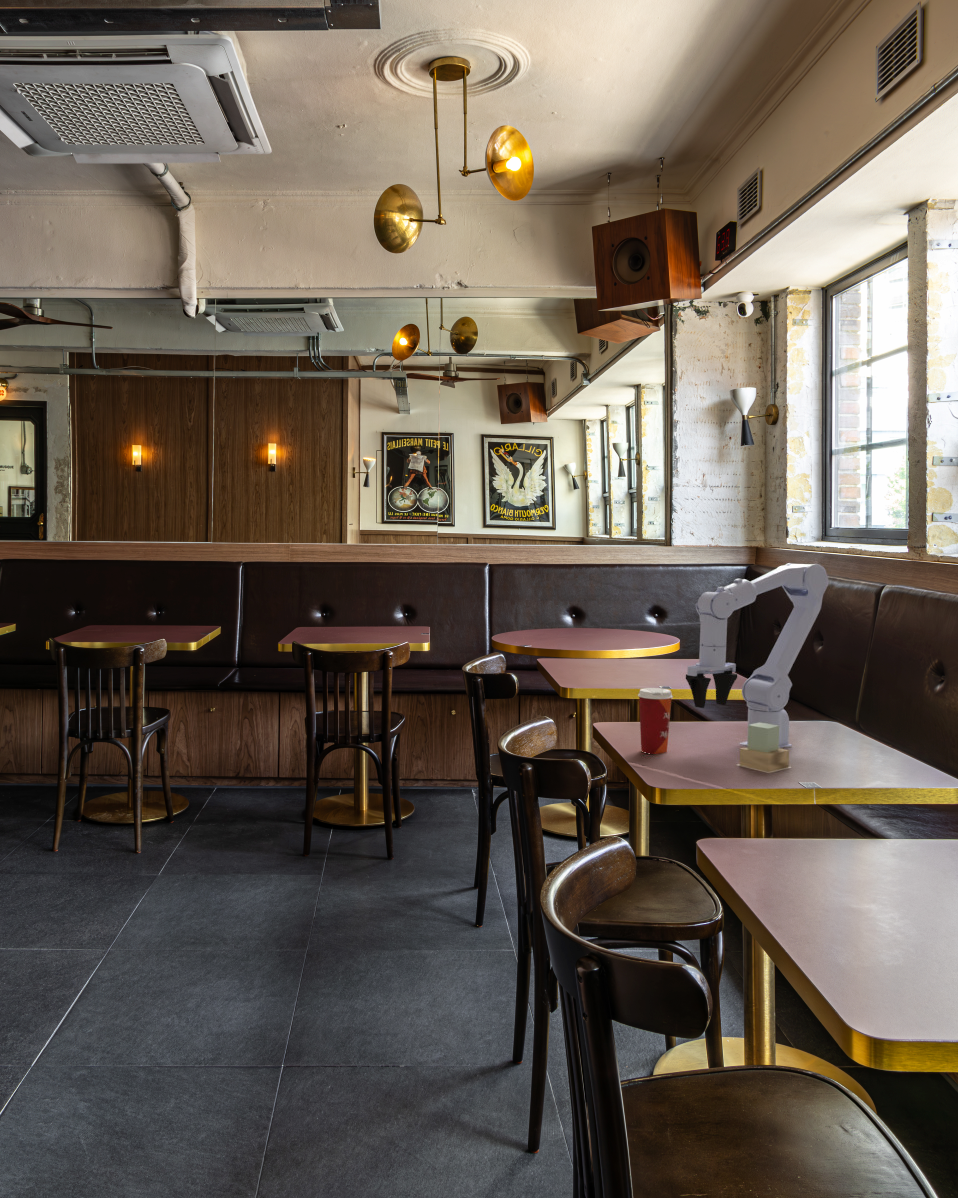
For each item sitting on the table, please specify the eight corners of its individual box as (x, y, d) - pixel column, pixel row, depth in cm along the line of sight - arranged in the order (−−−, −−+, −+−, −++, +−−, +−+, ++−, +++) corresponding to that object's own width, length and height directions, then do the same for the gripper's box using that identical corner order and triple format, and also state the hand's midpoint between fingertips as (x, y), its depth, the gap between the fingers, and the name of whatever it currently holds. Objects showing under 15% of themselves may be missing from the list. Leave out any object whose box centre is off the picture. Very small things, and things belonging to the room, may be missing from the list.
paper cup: (674, 756, 191) (676, 693, 190) (639, 756, 191) (640, 692, 190) (667, 748, 199) (669, 687, 198) (634, 747, 199) (635, 687, 198)
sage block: (758, 745, 185) (759, 722, 185) (778, 749, 181) (779, 725, 181) (747, 748, 182) (748, 725, 181) (767, 752, 178) (768, 728, 178)
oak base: (759, 760, 186) (760, 744, 186) (788, 767, 181) (789, 750, 181) (739, 765, 182) (739, 748, 182) (768, 772, 177) (768, 755, 176)
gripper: (718, 642, 202) (716, 700, 203) (677, 645, 194) (675, 705, 194) (744, 645, 197) (741, 705, 197) (703, 648, 188) (700, 710, 189)
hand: (710, 705), depth 195 cm, fingers open, 7 cm apart
